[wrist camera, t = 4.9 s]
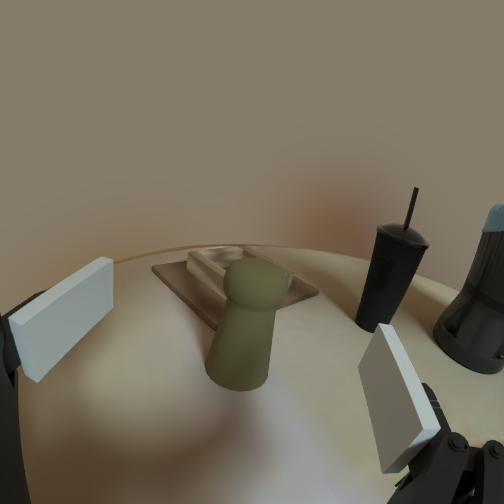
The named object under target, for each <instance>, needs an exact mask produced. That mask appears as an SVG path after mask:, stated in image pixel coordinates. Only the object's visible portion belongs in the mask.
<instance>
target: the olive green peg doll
mask: <svg viewBox="0 0 504 504" xmlns="http://www.w3.org/2000/svg"><path fill="white" fill-rule="evenodd" d="M223 289H224V293H225V295H226V297H227V300H226V303H225V306H224V309H223V312H222V315H221V318H220V321H219V324H218V327H217V330H216V333H215V336H214V339H213V342H212V345H211V348H210V351H209V354H208V357H207V360H206V364H205V368H206V372H207V374H208V375H209V377H210V378H211V380H213V381H214V382H215V383H217V384H218V385H220V386H222V387H224V388H227V389H230V390H235V391H250V390H253V389H256V388H258V387H260V386H261V385H262V384H263V383H264V382H265V381H266V379H267V376H268V368H269V361H270V353H271V345H272V337H273V329H274V320H275V312H276V308H278V307H279V306H280V305H281V304H282V302H283V300H284V299H285V297H286V295H287V292H288V278H287V275H286V273H285V271H284V270H283V269H282V268H281V267H279V266H278V265H276V264H275V263H272V262H270V261H267V260H264V259H259V258H251V257H249V258H241V259H238V260H235V261H234V262H232V263H231V264H230V265H229V266H228V268H227V270H226V272H225V275H224V280H223Z"/></svg>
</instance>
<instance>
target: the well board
mask: <svg viewBox="0 0 504 504" xmlns="http://www.w3.org/2000/svg"><path fill="white" fill-rule="evenodd" d="M249 257H251V258H259V259H264V260H267V261H270V262H272V263H275V262H274V261H272V260H270V259H268V258H266V257H264V256H263V255H261V254H259V253H257V252H255V251H253V250H251V249H250V248H248V247H246V246H236V247H227V248H218V249H210V250H201V251H193V252H188V260H187V261H184V262H176V263H169V264H162V265H155V266H152V271H153V272H154V273H155V274H156V275H157V276H158V277H159V278H160V279H161V280H162V281H163V282H164V283H165V284H166V285H167V286H168V287H169V288H170V289H171V290H172V291H173V292H174V293H175V294H176V295H177V296H178V297H179V298H181V299H182V300H183V301H184V302H185V303H186V304H187V305H188V306H189V307H190V308H191V309H192V310H193V311H194V312H196V313H197V314H198V315H199V316H200V317H201V318H202V319H203V320H204V321H205V322H206V323H208V324H209V325H210V326H211V327H212V328H213V329H214V330H217V327H218V324H219V321H220V318H221V315H222V312H223V309H224V306H225V303H226V300H227V297H226V295H225V293H224V289H223V280H224V275H225V272H226V270H227V268H228V266H229V265H230V264H231V263H232V262H234V261H235V260H238V259H241V258H249ZM275 264H276V265H278V266H279V267H281V268H282V269H283V270H284V271H285V273H286V275H287V278H288V292H287V295H286V297H285V299H284V300H283V302H282V304H281V305H280V306H279V307H278V308H276V310H277V309H280V308H283V307H286V306H288V305H291V304H294V303H297V302H299V301H302V300H305V299H307V298H310V297H313V296H315V295H318V292H319V290H318V289H316V288H314V287H313V286H311V285H309V284H307V283H305V282H303V281H302V280H300V279H298V278H296V277H294V276H293V273H294V272H292V271H290V270H288V269H287V268H285V267H283V266H281V265H279V264H277V263H275Z"/></svg>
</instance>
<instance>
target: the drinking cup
mask: <svg viewBox="0 0 504 504" xmlns="http://www.w3.org/2000/svg"><path fill="white" fill-rule="evenodd" d="M418 190H419V188H416V187H414V190H413V194H412V198H411V202H410V205H409V209H408V213H407V216H406V220H405V223H404V225H403V224H397V223H389V224H384V225H377V227H376V231H377V236H376V241H375V245H374V250H373V254H372V259H371V263H370V267H369V271H368V275H367V279H366V283H365V287H364V290H363V294H362V298H361V301H360V305H359V309H358V312H357V315H356V319H355V320H356V323H357V324H358V325H359V326H360V327H361V328H362V329H364V330H366V331H368V332H371V333H374V332H375V330H376V328H377V325H378V323H381V324H387V325H389V323H390V321H391V319H392V317H393V316H394V314H395V312H396V310H397V308H398V306H399V304H400V302H401V301H402V299H403V297H404V295H405V293H406V291H407V289H408V287H409V285H410V283H411V281H412V279H413V277H414V274H415V272H416V270H417V268H418V266H419V263H420V262H421V259H422V257H423V255H424V252H425V250H426V249H428V248H429V243H428V242H427V241H425V239H424V238H423V237H422V235H421V234H420V233H418V232H417V231H416V230H414V229H412V228H411V227H409V224H410V220H411V217H412V213H413V210H414V206H415V202H416V198H417V194H418Z"/></svg>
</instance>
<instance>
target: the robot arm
mask: <svg viewBox="0 0 504 504" xmlns="http://www.w3.org/2000/svg"><path fill="white" fill-rule="evenodd" d="M482 232H483V233H482V236H481V239H480V243H479V246H478V249H477V252H476V255H475V258H474V260H473V263H472V266H471V269H470V271H469V273H468V276H467V279H466V281H465V284H464V286H463V288H462V290H461V292H460V293H459V294H458V295H457V297H456V298H455V299H454V300H453V301H452V303H451V304H450V305H449V306H448V307H447V308H446V310H445V311H444V312H443V313H442V314H441V315H440V317H439V318H438V320H437V323H436V325H435V327H434V329H433V333H434V337H435V339H436V341H437V342H438V344H439V345H440V346H441V348H442V349H443V350H444V351H445V352H446V353H447V354H448V355H450V356H451V357H452V358H453V359H455V360H456V361H457V362H459V363H460V364H462V365H464V366H466V367H468V368H470V369H472V370H474V371H477V372H480V373H485V374H495V373H498V372H500V371H501V370H502V369H503V367H504V205H503V204H498V205H495V206H493V207H492V208H491V209H490V211H489V214H488V217H487V220H486V223H485V226H484V228H483V229H482ZM113 262H114V261H113V260H112V259H109V258H106V257H102V256H101V257H99V258H98V259H96V260H94V261H93V262H91V263H89V264H88V265H86V266H85V267H83V268H81V269H80V270H78V271H77V272H75V273H73V274H72V275H70V276H69V277H67V278H66V279H64V280H63V281H61V282H59V283H58V284H56V285H55V286H53V287H52V288H50V289H49V290H47V291H46V290H45V291H42V292H39V293H36V294H34V295H33V296H31V297H30V298H28V300H25V301H24V302H23V303H21V304H19V305H18V306H16V307H15V308H13V309H12V310H11V311H9V312H8V313H6V314H5V315H3V316H2V317H1V314H0V504H31V501H30V496H29V492H28V487H27V482H26V477H25V471H24V464H23V457H22V449H21V440H20V429H19V412H18V372H17V369H16V368H17V367H18V366H19V365H22V368H23V371H24V374H25V375H26V376H28V377H29V378H31V379H32V380H34V381H35V382H37V383H38V382H39V381H40V380H41V379H42V378H43V377H44V376H45V375H46V374H47V373H48V372H49V371H50V370H51V369H52V368H53V367H54V366H55V364H56V363H57V362H58V361H59V360H60V359H61V358H62V357H63V356H64V355H65V354H66V353H67V352H68V351H69V350H70V349H71V348H72V347H73V346H74V345H75V344H76V343H77V342H78V341H79V340H80V339H81V338H82V337H83V336H84V335H85V334H86V333H87V332H88V331H89V330H90V329H92V328H93V327H94V326H95V325H96V324H97V323H98V322H99V321H100V320H101V319H102V318H103V317H104V316H105V315H106V314H107V313H108V312H109V311H110V310H111V309H112V308H113V307H114V304H113ZM358 370H359V374H360V377H361V381H362V385H363V389H364V393H365V397H366V401H367V405H368V409H369V414H370V418H371V422H372V427H373V431H374V436H375V440H376V445H377V450H378V455H379V460H380V465H381V470H382V474H388V473H399V472H400V471H401V470H403V469H404V468H405V467H406V466H407V465H408V467H409V470H410V472H409V473H408V474H407V475H405V476H404V477H403V478H402V479H401V480H400V481H399V482H398V483H397V484H396V485H395V487H397V486H398V485H399V484H400V485H399V486H398V488H397V489H396V491H395V492H394V494H393V495H392V497H391V498H390V500H389V501H388V503H387V504H504V446H503V445H502V444H501V443H500V442H497V441H495V440H490V441H487V442H486V444H485V445H484V446H483V447H482V448H477V447H471V446H469V444H468V441H467V440H466V439H465V437H463V436H462V435H461V434H459V433H456V432H451V429H450V427H449V425H448V422H447V420H446V418H445V416H444V413H443V411H442V409H440V405H439V403H438V402H437V398H436V396H435V394H434V392H433V391H432V389H431V388H430V387H429V386H428V385H427V384H426V383H421V382H420V380H419V378H418V376H417V374H416V372H415V370H414V368H413V365H412V363H411V361H410V359H409V357H408V355H407V353H406V351H405V349H404V347H403V345H402V344H401V342H400V340H399V338H398V336H397V334H396V332H395V330H394V328H393V326H392V325H387V324H381V323H378V325H377V328H376V330H375V332H374V334H373V337H372V339H371V341H370V343H369V345H368V347H367V349H366V351H365V354H364V356H363V358H362V360H361V362H360V364H359V366H358ZM474 489H475V492H474V495H473V496H472V493H473V490H474Z"/></svg>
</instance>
